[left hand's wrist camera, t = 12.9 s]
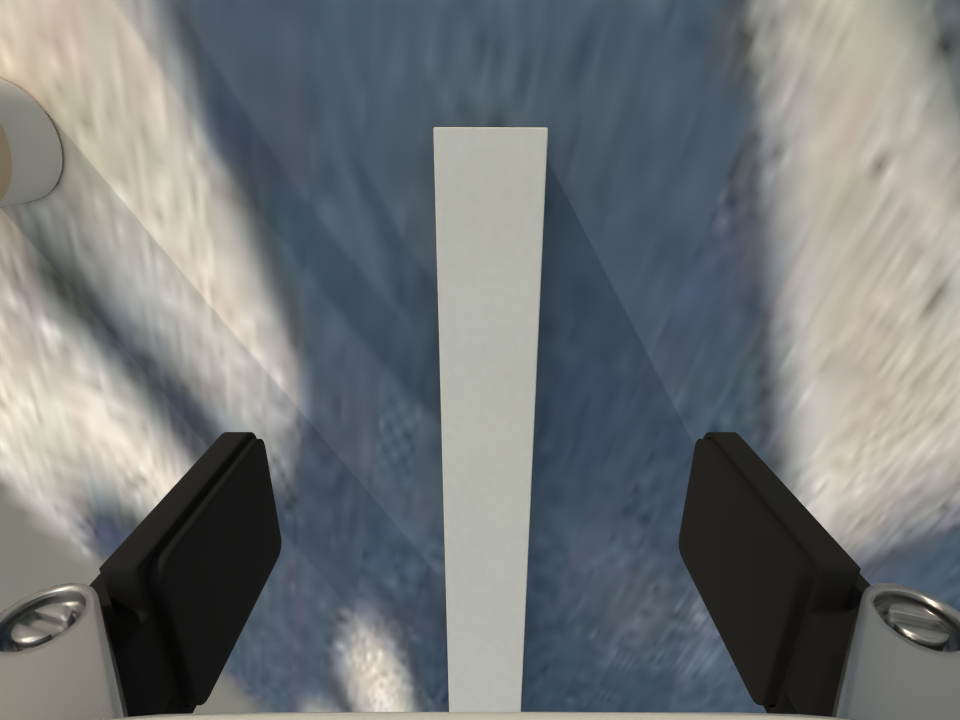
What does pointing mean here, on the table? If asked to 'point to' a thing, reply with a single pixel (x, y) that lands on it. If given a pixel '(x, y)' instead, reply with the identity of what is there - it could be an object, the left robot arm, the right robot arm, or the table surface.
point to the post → (488, 397)
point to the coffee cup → (26, 148)
